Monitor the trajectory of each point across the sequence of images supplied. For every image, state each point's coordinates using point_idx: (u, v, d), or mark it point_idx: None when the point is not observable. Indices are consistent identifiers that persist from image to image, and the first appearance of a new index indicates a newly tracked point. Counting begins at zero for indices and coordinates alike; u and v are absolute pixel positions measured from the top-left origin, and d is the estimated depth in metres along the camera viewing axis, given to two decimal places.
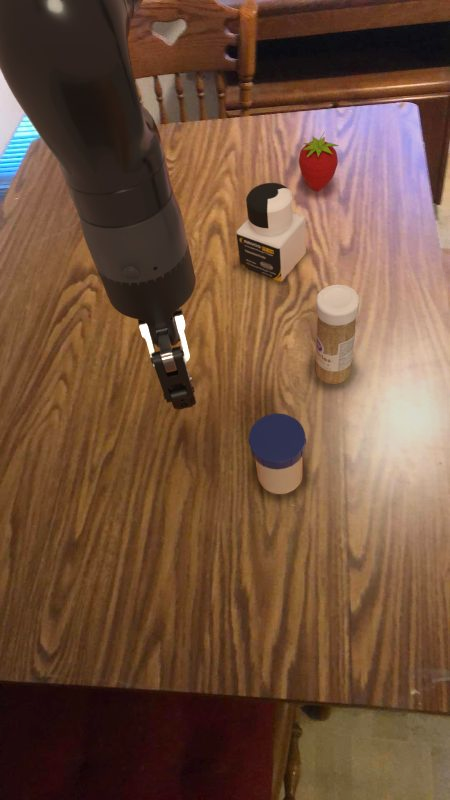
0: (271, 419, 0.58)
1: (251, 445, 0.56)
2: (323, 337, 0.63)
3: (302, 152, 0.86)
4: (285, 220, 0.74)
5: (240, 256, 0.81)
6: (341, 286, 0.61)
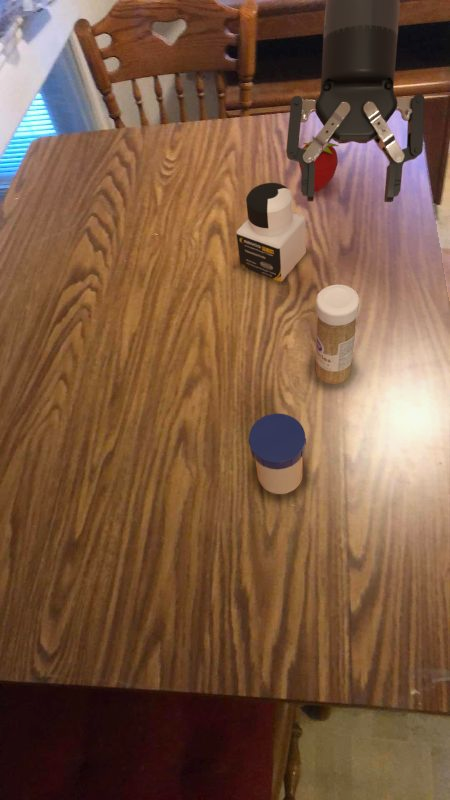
0: (271, 419, 0.58)
1: (251, 445, 0.56)
2: (323, 337, 0.63)
3: None
4: (285, 220, 0.74)
5: (240, 256, 0.81)
6: (341, 286, 0.61)
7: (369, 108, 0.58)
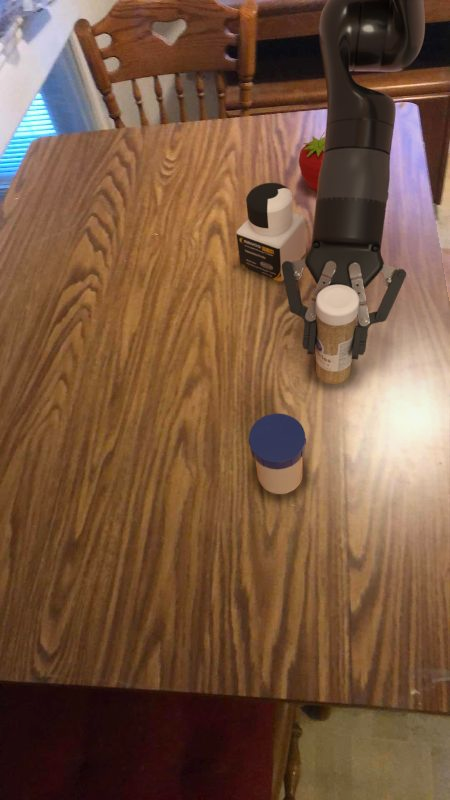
0: (271, 419, 0.58)
1: (251, 445, 0.56)
2: (322, 337, 0.63)
3: (302, 152, 0.86)
4: (285, 220, 0.74)
5: (240, 256, 0.81)
6: (340, 286, 0.61)
7: (354, 269, 0.61)
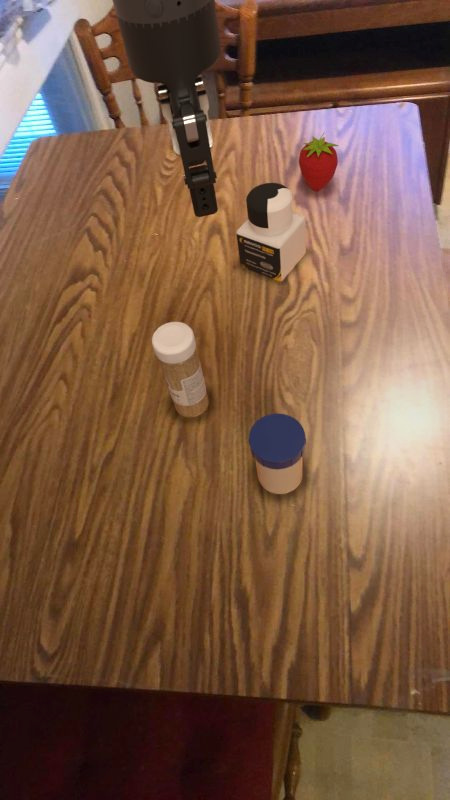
0: (271, 419, 0.58)
1: (251, 445, 0.56)
2: (165, 373, 0.63)
3: (302, 152, 0.86)
4: (285, 220, 0.74)
5: (240, 256, 0.81)
6: (178, 323, 0.60)
7: None
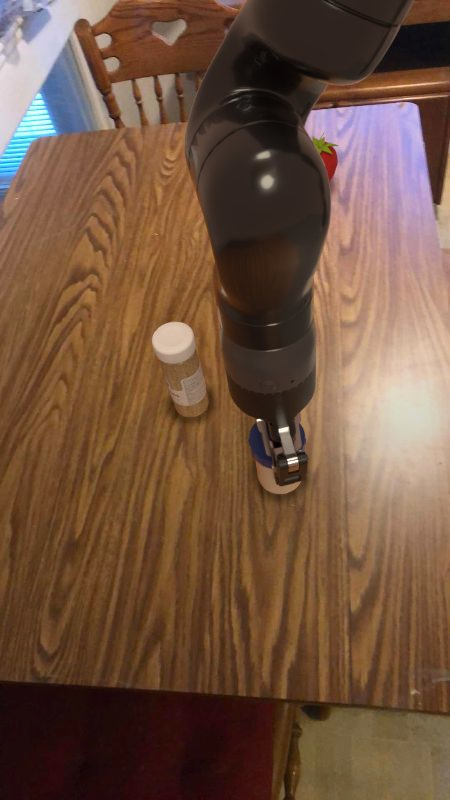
0: None
1: (251, 445, 0.56)
2: (165, 373, 0.63)
3: None
4: None
5: None
6: (178, 323, 0.60)
7: None
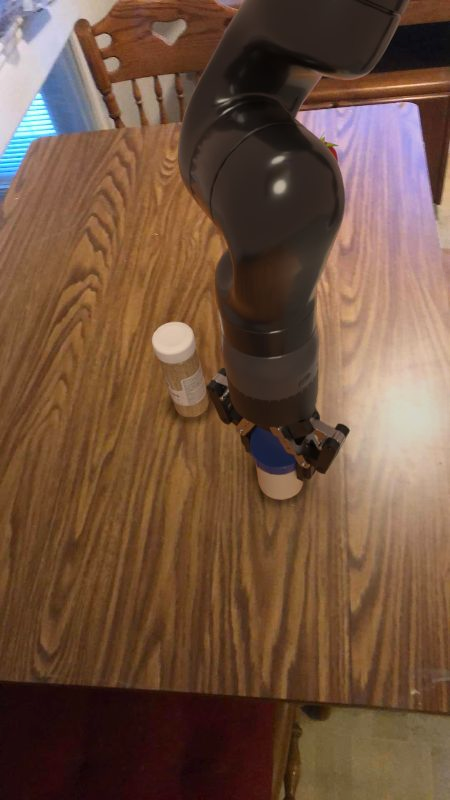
0: (259, 432, 0.57)
1: (265, 464, 0.55)
2: (165, 373, 0.63)
3: None
4: None
5: None
6: (178, 323, 0.60)
7: None
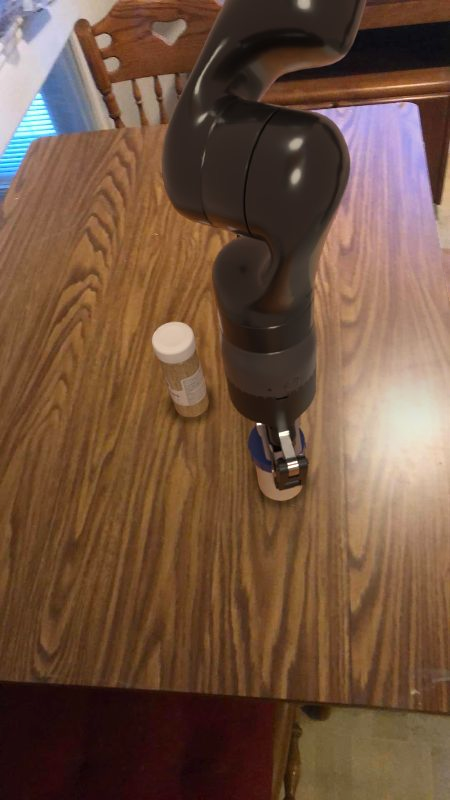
0: None
1: (301, 432, 0.56)
2: (165, 373, 0.63)
3: None
4: None
5: None
6: (178, 323, 0.60)
7: (256, 423, 0.50)
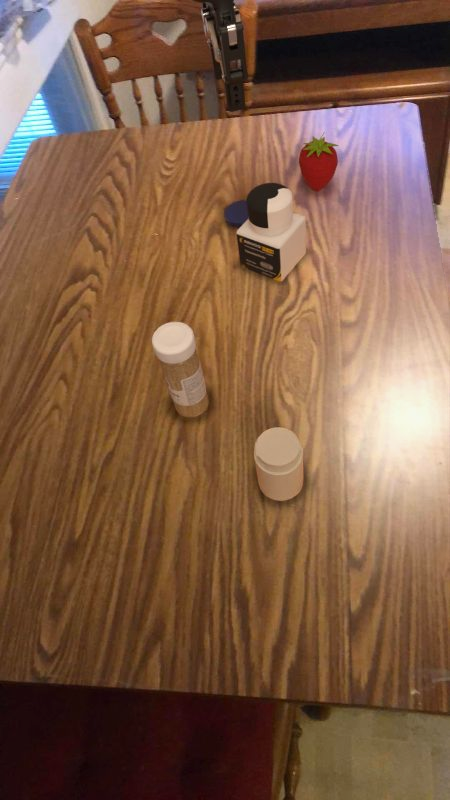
0: (245, 220, 0.87)
1: None
2: (165, 373, 0.63)
3: (302, 152, 0.86)
4: (285, 221, 0.74)
5: (240, 256, 0.81)
6: (178, 323, 0.60)
7: (206, 24, 0.65)
